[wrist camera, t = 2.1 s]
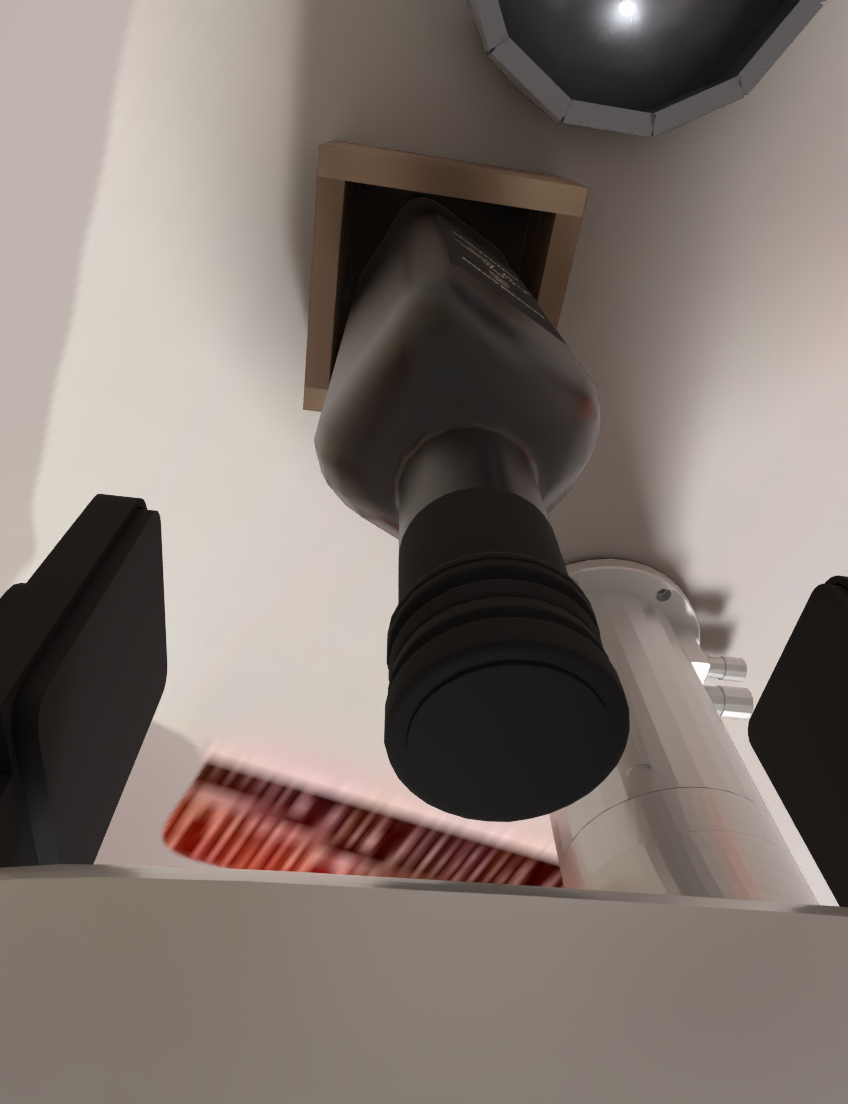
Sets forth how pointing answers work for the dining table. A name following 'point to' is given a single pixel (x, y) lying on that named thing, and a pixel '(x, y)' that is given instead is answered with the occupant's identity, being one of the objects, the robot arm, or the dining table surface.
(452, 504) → the wine bottle
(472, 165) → the open square wooden box
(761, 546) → the dining table surface
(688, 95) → the serving bowl
